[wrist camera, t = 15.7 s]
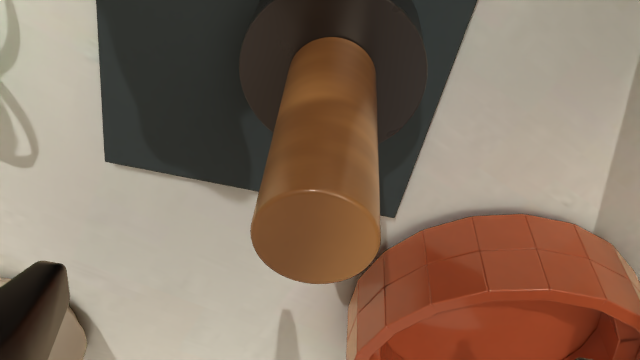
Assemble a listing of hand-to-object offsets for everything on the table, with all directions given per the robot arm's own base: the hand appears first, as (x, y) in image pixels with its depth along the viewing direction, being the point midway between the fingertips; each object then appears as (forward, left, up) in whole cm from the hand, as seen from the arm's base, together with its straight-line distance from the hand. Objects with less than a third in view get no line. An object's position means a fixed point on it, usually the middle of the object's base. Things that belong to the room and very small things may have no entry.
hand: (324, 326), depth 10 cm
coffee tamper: (0, 0, -11) cm, 11 cm away
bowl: (-10, +12, -12) cm, 19 cm away
